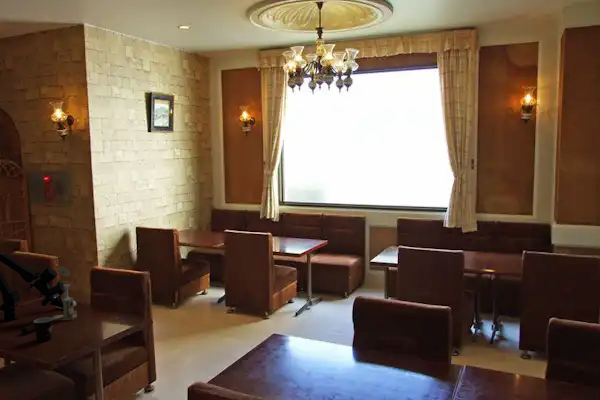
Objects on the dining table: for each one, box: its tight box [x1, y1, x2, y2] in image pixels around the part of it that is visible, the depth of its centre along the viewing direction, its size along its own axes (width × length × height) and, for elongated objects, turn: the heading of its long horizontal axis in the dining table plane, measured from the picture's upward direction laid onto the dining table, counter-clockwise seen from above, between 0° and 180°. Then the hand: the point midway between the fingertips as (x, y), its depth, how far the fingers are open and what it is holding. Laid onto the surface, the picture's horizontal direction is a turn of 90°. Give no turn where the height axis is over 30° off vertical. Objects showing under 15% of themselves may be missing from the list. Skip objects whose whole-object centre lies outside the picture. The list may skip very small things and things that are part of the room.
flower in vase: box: [55, 266, 77, 310], centre depth 301 cm, size 13×11×25 cm
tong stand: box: [51, 297, 78, 321], centre depth 281 cm, size 12×6×11 cm, turn 93°
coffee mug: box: [33, 316, 55, 343], centre depth 249 cm, size 12×9×10 cm
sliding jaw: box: [63, 296, 71, 318], centre depth 281 cm, size 2×6×10 cm, turn 3°
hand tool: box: [20, 315, 52, 336], centre depth 264 cm, size 19×4×5 cm, turn 161°
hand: (64, 307), depth 281 cm, fingers closed, pressing on sliding jaw
